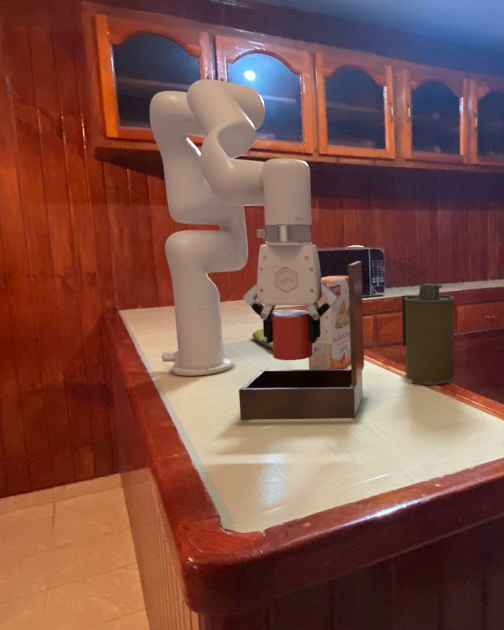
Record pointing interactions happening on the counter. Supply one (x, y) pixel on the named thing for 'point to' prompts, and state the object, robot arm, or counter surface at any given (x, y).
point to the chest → (300, 395)
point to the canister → (429, 336)
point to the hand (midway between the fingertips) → (292, 340)
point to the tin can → (291, 335)
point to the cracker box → (333, 328)
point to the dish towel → (262, 338)
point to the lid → (356, 320)
